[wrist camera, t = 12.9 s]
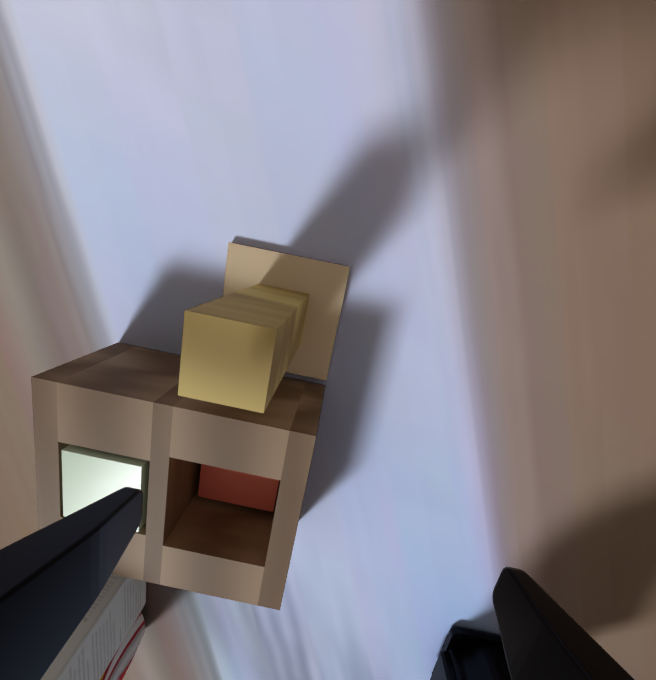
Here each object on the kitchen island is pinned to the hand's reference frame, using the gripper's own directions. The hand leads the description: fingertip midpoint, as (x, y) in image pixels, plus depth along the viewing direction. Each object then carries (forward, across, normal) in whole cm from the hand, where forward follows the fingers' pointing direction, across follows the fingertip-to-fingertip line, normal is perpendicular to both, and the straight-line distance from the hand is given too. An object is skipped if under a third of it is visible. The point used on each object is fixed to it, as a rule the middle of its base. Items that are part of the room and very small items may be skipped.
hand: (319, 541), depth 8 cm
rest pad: (+13, +4, -2) cm, 14 cm away
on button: (+10, +11, +7) cm, 16 cm away
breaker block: (+13, +7, +7) cm, 16 cm away
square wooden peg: (+13, +4, -2) cm, 13 cm away
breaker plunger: (+12, +5, +7) cm, 15 cm away
